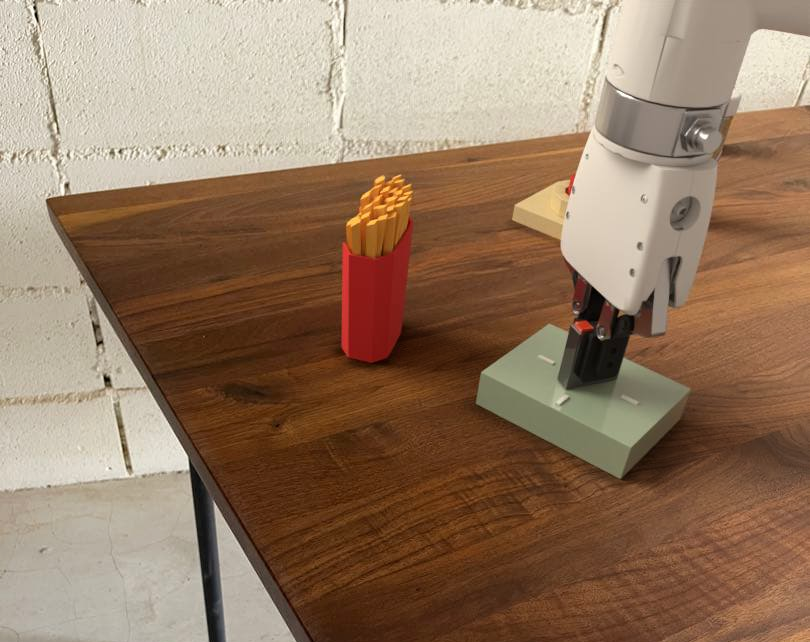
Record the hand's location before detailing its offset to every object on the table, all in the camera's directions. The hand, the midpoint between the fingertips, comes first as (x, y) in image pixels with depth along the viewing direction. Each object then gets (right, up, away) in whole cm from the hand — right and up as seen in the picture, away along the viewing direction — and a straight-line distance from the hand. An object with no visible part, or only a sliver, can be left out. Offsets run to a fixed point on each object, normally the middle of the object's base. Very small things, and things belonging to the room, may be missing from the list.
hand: (590, 369), depth 67 cm
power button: (+5, +23, +24) cm, 34 cm away
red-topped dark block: (0, -1, +1) cm, 1 cm away
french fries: (-17, +4, +8) cm, 19 cm away
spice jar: (+16, +22, +30) cm, 40 cm away
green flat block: (0, -3, +3) cm, 4 cm away
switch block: (+4, +20, +27) cm, 34 cm away
